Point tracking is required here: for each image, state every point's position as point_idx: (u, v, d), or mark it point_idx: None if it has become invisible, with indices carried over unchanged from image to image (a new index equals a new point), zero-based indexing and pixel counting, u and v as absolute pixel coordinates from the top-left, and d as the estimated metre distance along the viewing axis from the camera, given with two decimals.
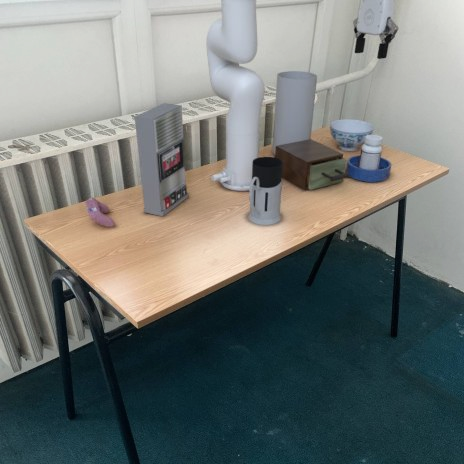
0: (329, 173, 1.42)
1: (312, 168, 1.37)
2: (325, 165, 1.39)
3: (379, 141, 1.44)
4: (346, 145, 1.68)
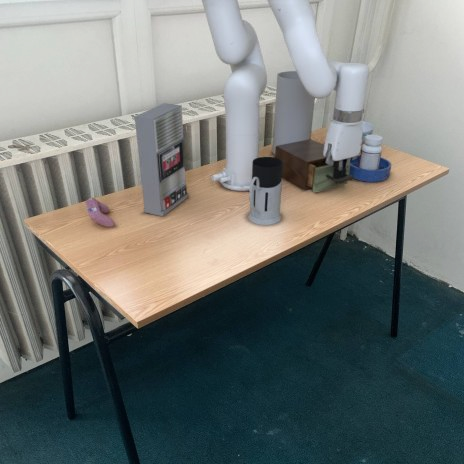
0: None
1: (316, 170, 1.36)
2: (329, 167, 1.38)
3: (379, 141, 1.44)
4: None
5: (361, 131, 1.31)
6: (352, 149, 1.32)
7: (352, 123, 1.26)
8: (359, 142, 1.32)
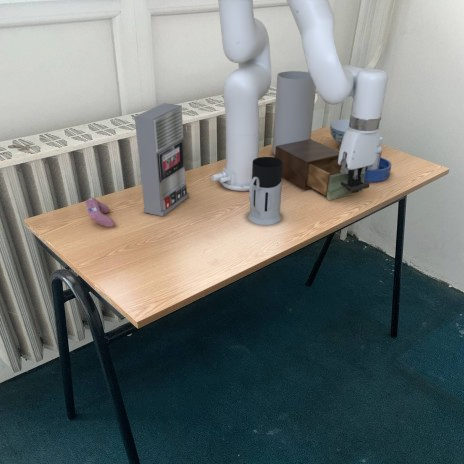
0: None
1: (331, 178, 1.32)
2: (344, 175, 1.33)
3: (379, 141, 1.44)
4: None
5: (377, 139, 1.27)
6: (368, 158, 1.28)
7: (369, 131, 1.22)
8: (375, 151, 1.28)
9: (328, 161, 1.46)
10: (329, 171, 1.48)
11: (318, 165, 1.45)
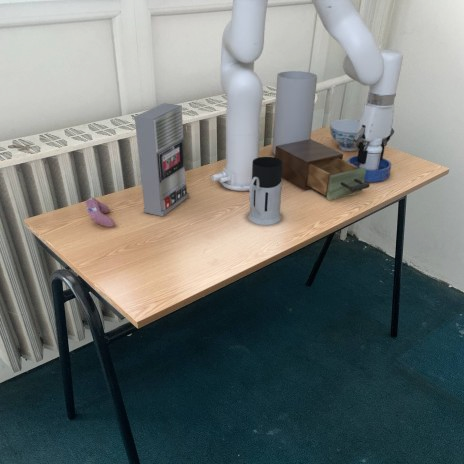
0: (348, 183, 1.36)
1: (331, 178, 1.32)
2: (344, 175, 1.33)
3: (379, 141, 1.44)
4: (346, 145, 1.68)
5: (392, 114, 1.42)
6: (384, 131, 1.43)
7: (385, 106, 1.37)
8: (390, 124, 1.44)
9: (328, 161, 1.46)
10: (329, 171, 1.48)
11: (318, 165, 1.45)
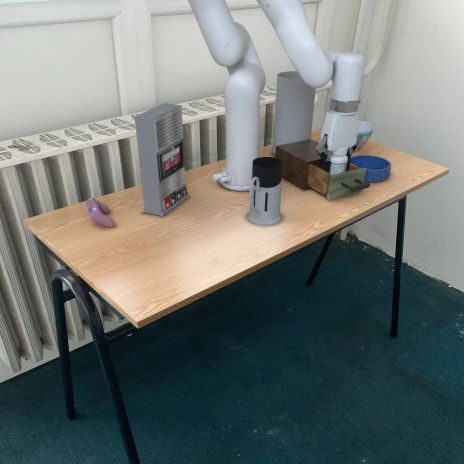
0: (348, 183, 1.36)
1: (331, 178, 1.32)
2: (345, 175, 1.33)
3: (344, 151, 1.33)
4: None
5: (357, 121, 1.31)
6: (348, 140, 1.32)
7: (348, 113, 1.26)
8: (355, 133, 1.32)
9: None
10: None
11: (318, 165, 1.45)
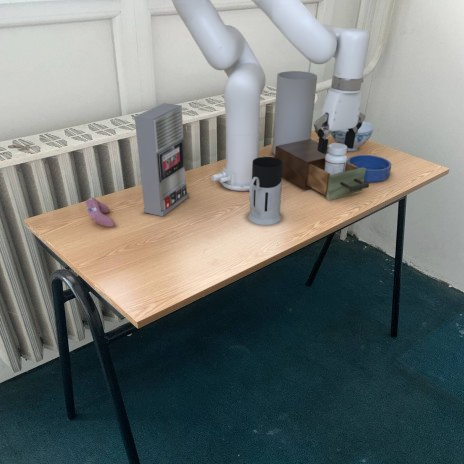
0: (348, 183, 1.36)
1: (331, 178, 1.32)
2: (344, 174, 1.33)
3: (343, 150, 1.33)
4: None
5: (359, 101, 1.28)
6: (349, 120, 1.29)
7: (350, 91, 1.23)
8: (357, 113, 1.29)
9: None
10: None
11: (318, 165, 1.45)
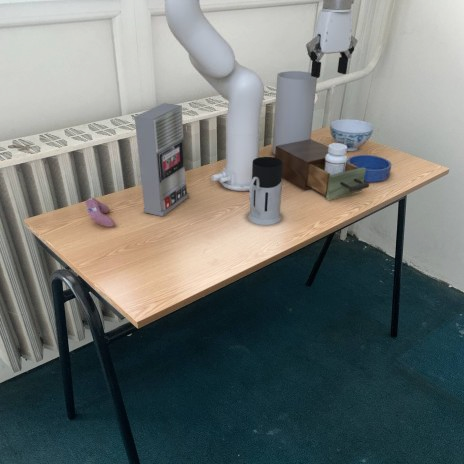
0: (348, 183, 1.36)
1: (331, 178, 1.32)
2: (344, 174, 1.33)
3: (343, 150, 1.33)
4: (346, 145, 1.68)
5: (350, 23, 1.30)
6: (341, 42, 1.31)
7: (341, 10, 1.25)
8: (348, 35, 1.32)
9: None
10: None
11: (318, 165, 1.45)
